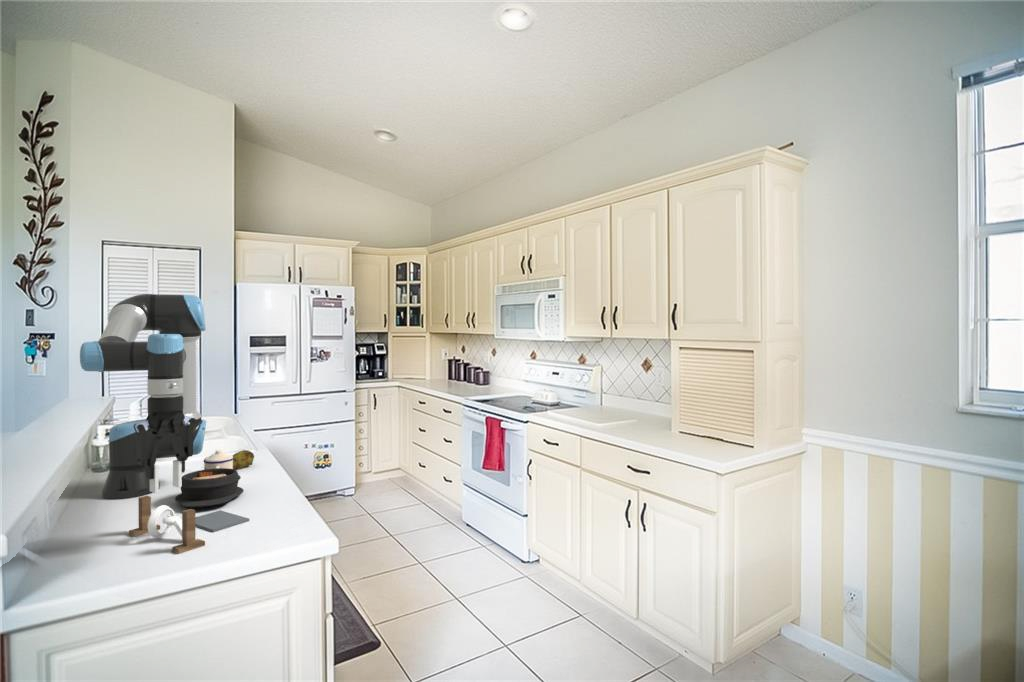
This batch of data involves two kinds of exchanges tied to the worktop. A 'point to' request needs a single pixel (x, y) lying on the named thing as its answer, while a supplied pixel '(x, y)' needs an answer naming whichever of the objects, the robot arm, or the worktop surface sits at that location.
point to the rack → (144, 516)
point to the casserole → (209, 487)
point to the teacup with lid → (218, 461)
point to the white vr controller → (164, 521)
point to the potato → (242, 459)
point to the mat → (218, 520)
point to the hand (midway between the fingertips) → (165, 488)
